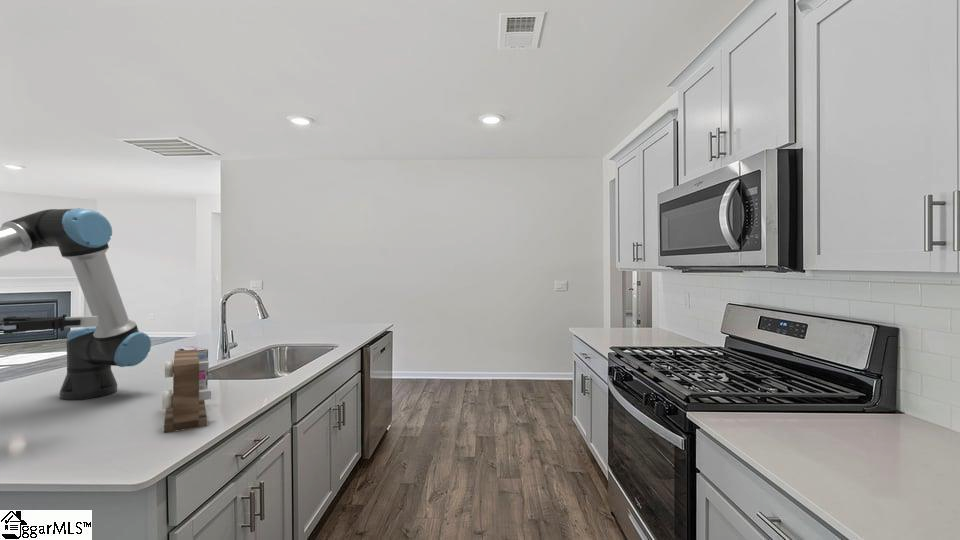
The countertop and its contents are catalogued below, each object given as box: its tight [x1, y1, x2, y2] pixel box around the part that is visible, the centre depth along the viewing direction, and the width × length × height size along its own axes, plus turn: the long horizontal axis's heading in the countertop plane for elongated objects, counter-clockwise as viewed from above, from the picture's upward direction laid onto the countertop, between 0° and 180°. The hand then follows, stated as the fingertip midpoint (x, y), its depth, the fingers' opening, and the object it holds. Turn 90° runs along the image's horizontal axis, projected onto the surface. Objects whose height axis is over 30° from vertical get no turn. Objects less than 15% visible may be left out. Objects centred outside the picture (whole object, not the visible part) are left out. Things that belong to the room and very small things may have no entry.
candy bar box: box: [177, 346, 209, 390], centre depth 156 cm, size 11×5×16 cm, turn 58°
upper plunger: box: [164, 360, 210, 378], centre depth 143 cm, size 5×12×5 cm, turn 123°
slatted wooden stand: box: [163, 349, 208, 433], centre depth 135 cm, size 24×10×18 cm, turn 33°
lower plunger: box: [161, 388, 212, 410], centre depth 129 cm, size 5×12×5 cm, turn 123°
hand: (97, 321), depth 123 cm, fingers closed
